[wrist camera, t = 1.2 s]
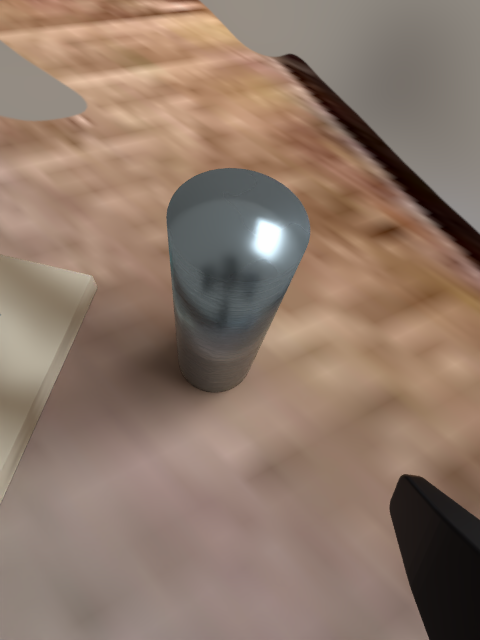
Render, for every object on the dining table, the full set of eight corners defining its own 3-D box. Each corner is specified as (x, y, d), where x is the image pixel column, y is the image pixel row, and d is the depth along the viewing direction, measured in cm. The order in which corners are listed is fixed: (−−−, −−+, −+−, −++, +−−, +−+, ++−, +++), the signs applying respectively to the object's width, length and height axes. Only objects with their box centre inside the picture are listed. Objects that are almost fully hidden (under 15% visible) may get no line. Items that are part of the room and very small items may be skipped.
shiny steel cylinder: (244, 399, 22) (302, 295, 11) (169, 383, 22) (146, 259, 11) (256, 332, 25) (316, 186, 13) (188, 316, 24) (187, 155, 13)
